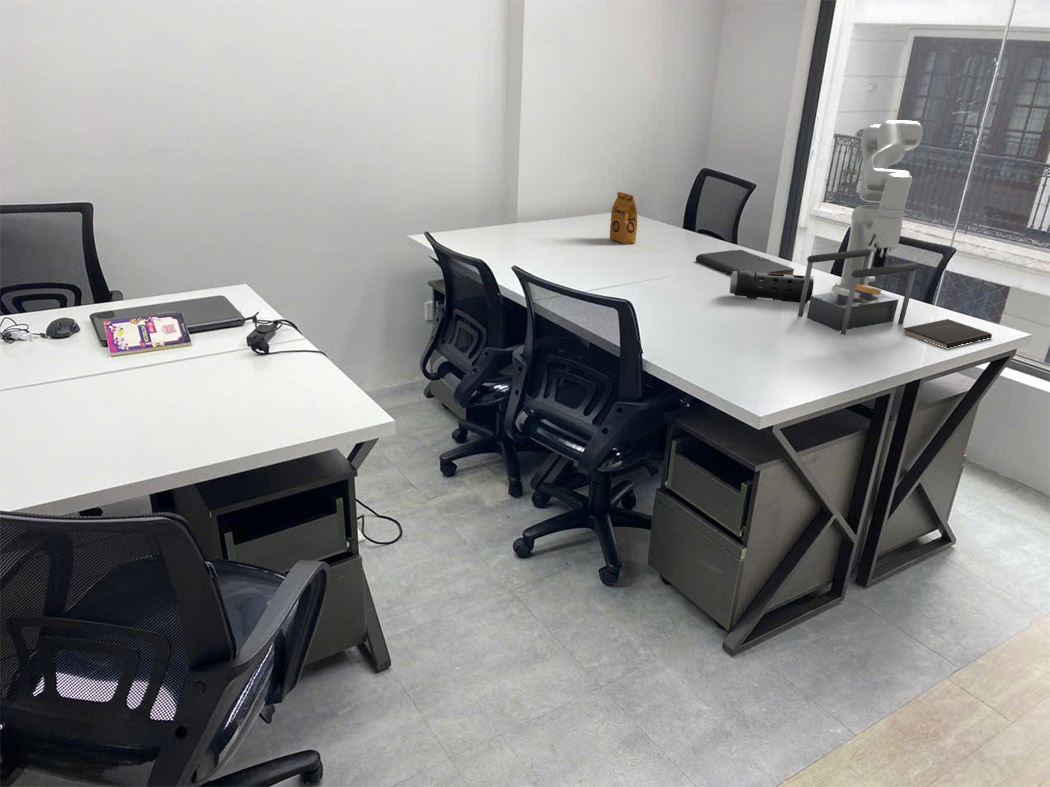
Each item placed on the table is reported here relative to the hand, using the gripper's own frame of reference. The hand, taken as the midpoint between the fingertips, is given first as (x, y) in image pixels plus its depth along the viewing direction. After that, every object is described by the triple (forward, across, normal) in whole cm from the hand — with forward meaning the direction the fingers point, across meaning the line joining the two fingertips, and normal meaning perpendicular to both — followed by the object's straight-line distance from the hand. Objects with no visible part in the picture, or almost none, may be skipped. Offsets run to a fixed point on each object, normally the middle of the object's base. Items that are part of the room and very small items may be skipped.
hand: (877, 267), depth 261 cm
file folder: (+20, -1, -64) cm, 67 cm away
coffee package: (+20, +22, -122) cm, 125 cm away
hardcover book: (+18, -9, +24) cm, 32 cm away
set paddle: (+7, +14, 0) cm, 15 cm away
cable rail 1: (+18, +9, -9) cm, 22 cm away
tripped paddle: (+7, +4, 0) cm, 8 cm away
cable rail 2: (+17, +9, +10) cm, 22 cm away
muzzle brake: (+18, +20, -27) cm, 38 cm away
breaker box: (+18, +9, +1) cm, 20 cm away
